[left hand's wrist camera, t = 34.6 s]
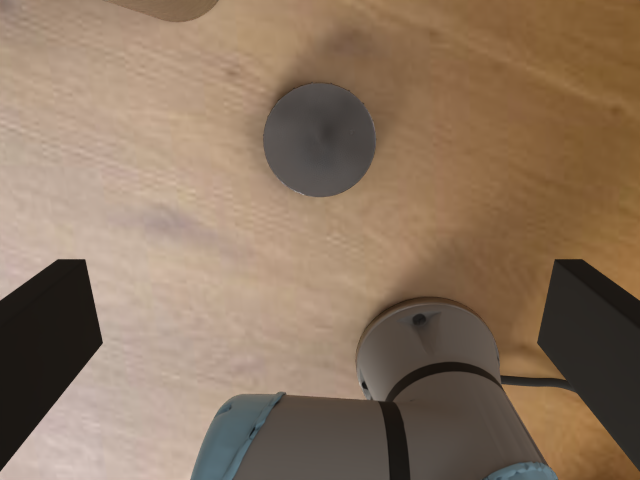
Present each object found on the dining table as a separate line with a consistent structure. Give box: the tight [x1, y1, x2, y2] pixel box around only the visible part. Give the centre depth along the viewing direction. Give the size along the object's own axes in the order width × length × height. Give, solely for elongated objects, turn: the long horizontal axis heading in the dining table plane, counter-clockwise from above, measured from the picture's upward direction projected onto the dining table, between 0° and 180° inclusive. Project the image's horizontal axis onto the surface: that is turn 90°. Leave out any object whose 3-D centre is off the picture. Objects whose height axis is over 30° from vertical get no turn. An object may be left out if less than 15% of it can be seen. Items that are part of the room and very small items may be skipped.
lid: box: [263, 82, 376, 197], centre depth 39 cm, size 10×10×2 cm
